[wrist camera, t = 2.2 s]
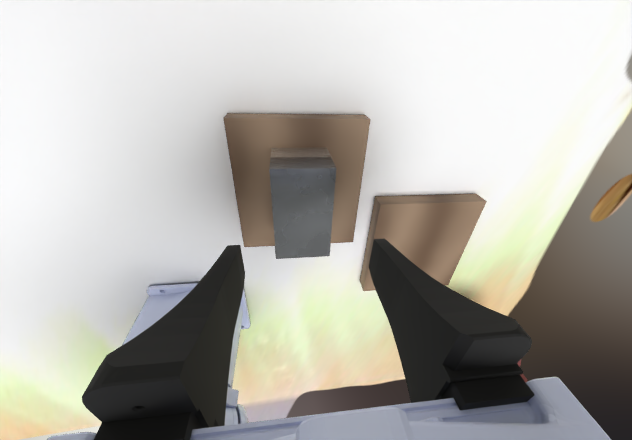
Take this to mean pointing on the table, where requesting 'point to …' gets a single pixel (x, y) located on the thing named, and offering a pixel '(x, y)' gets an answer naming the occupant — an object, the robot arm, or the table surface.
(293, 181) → the block
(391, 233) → the stand
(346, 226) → the stand
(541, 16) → the table surface
